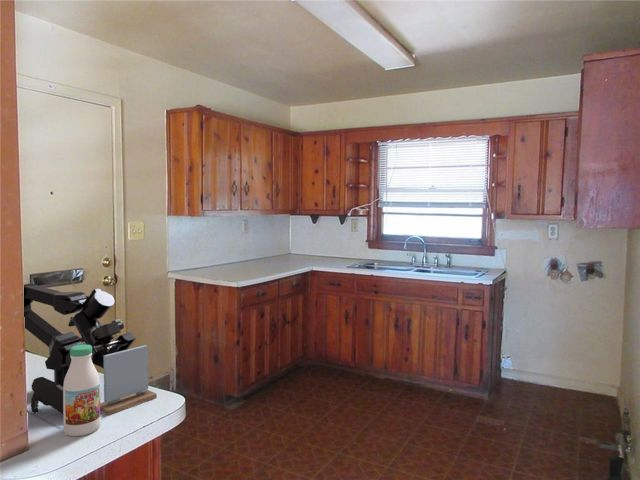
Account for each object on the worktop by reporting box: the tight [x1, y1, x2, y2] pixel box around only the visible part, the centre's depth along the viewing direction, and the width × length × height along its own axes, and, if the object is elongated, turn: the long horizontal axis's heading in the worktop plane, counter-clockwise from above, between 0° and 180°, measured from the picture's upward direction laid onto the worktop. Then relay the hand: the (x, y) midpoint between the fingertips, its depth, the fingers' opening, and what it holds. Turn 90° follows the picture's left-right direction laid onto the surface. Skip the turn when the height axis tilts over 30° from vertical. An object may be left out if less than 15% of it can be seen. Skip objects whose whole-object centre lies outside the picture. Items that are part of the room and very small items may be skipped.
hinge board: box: [100, 389, 157, 416], centre depth 122 cm, size 6×14×1 cm, turn 144°
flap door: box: [103, 344, 149, 405], centre depth 121 cm, size 2×12×13 cm, turn 144°
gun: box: [30, 376, 64, 416], centre depth 114 cm, size 3×16×10 cm, turn 79°
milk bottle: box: [62, 344, 101, 437], centre depth 106 cm, size 8×8×20 cm
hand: (116, 373), depth 124 cm, fingers closed
